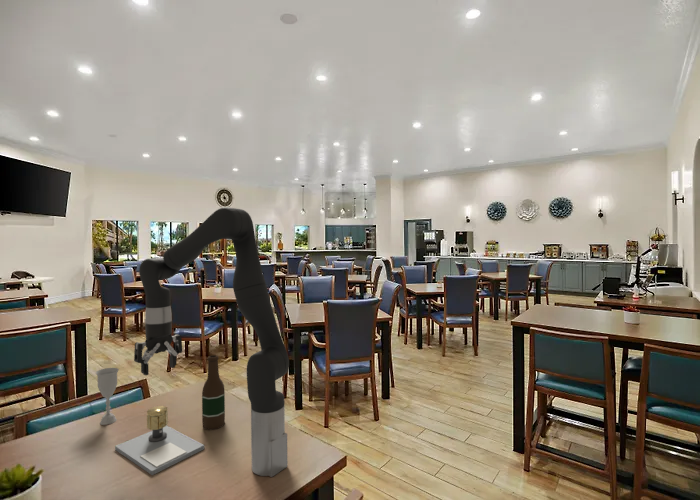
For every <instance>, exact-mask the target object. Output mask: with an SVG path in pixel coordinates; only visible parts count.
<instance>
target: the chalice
mask: <svg viewBox="0 0 700 500" xmlns="http://www.w3.org/2000/svg"><path fill="white" fill-rule="evenodd" d="M118 373H119V368H118V367H106V368H102V369H99V370H97V371H96V372H95V374H96V376H97V389H98V391H99V392H100V394H101V396H102V397H103V398H106V400H105V405H106V407H105V410H106V413H105V414H104V415H102V417H101V420H100V422H99V425H100V426H101V425H103V426H108V425H111V424H113V423H116V422H117V420H118V419H117V418H116V415H115V414H114V413H113V412H111V411H110V410H111V409H112V407H111V405H110V404H111V401H110V400H111V399H110V398H111V397H113V394H114V393H115V391H116V388H117V385H118Z"/></svg>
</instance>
